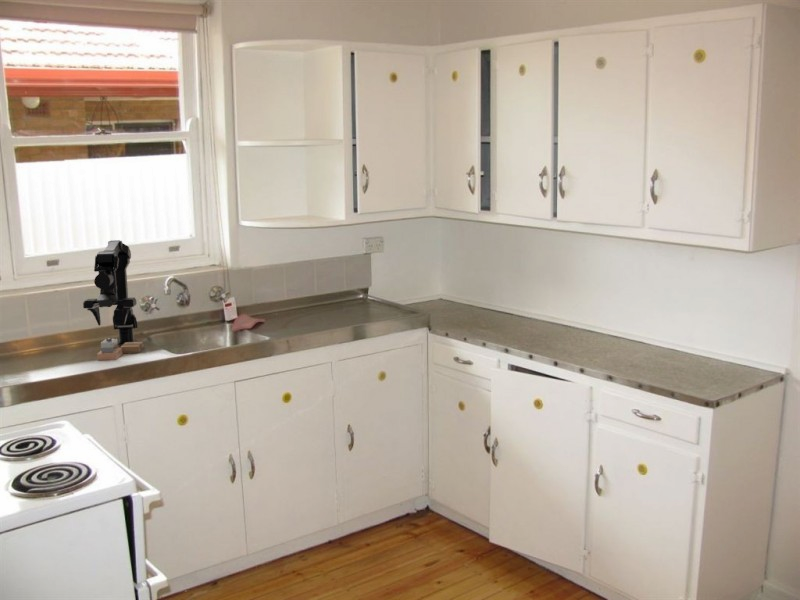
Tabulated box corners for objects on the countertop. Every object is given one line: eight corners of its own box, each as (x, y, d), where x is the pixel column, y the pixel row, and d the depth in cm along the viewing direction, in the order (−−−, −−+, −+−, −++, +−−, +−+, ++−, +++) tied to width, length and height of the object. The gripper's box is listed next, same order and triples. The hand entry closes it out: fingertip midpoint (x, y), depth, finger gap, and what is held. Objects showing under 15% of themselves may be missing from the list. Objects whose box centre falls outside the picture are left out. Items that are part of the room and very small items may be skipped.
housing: (106, 348, 328) (105, 336, 327) (118, 348, 328) (117, 336, 327) (101, 353, 321) (100, 340, 320) (113, 352, 321) (112, 340, 320)
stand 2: (126, 348, 340) (125, 342, 339) (143, 347, 340) (143, 341, 340) (120, 353, 331) (120, 347, 330) (138, 352, 331) (138, 346, 331)
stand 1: (104, 354, 329) (103, 348, 328) (122, 354, 329) (121, 347, 329) (97, 360, 320) (97, 353, 320) (116, 359, 321) (116, 352, 320)
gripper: (77, 289, 313) (80, 330, 316) (128, 287, 314) (131, 328, 317) (85, 284, 324) (89, 324, 327) (135, 282, 325) (138, 322, 328)
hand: (111, 324), depth 324 cm, fingers open, 9 cm apart
